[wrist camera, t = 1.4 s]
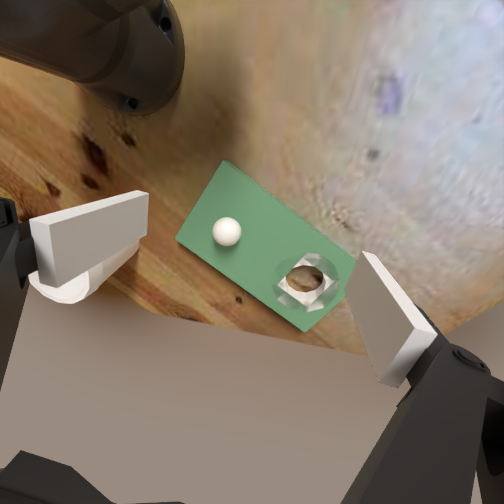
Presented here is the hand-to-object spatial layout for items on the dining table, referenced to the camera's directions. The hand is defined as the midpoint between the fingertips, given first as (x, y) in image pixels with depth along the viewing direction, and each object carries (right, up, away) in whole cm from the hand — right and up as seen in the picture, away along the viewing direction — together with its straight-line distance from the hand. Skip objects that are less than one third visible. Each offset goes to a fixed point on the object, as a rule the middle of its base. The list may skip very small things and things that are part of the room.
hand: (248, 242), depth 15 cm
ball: (-3, +2, +19) cm, 19 cm away
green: (+3, 0, +24) cm, 24 cm away
